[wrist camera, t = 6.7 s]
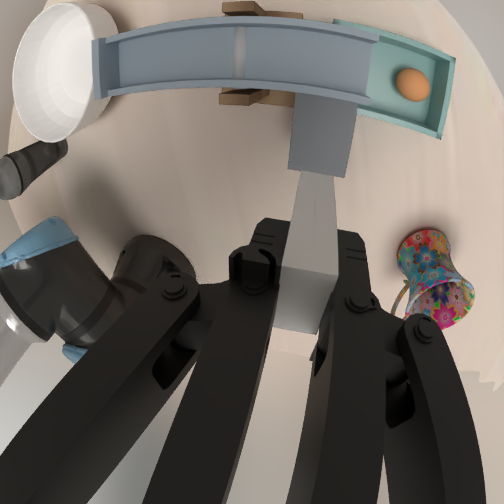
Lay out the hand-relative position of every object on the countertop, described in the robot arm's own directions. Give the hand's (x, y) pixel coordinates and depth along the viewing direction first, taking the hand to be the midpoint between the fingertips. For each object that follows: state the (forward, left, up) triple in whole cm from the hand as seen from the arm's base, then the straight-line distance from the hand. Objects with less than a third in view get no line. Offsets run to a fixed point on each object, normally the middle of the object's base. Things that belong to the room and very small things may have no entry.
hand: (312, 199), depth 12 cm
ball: (+9, +7, -16) cm, 19 cm away
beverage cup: (-42, -4, -19) cm, 46 cm away
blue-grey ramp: (-8, +4, -11) cm, 14 cm away
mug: (+17, -15, -19) cm, 30 cm away
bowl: (-32, +9, -19) cm, 38 cm away
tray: (+6, +7, -19) cm, 21 cm away
